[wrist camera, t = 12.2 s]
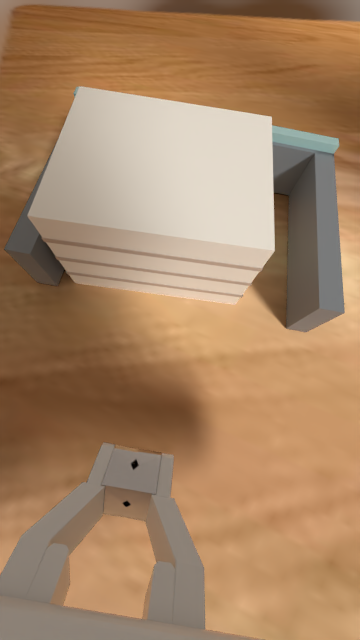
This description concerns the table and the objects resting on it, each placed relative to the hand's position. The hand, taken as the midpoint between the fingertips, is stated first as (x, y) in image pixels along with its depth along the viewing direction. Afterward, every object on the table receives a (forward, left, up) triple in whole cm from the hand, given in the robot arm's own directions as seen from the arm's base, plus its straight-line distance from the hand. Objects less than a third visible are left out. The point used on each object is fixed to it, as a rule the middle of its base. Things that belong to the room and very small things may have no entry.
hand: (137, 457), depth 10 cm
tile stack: (+2, -15, -5) cm, 16 cm away
